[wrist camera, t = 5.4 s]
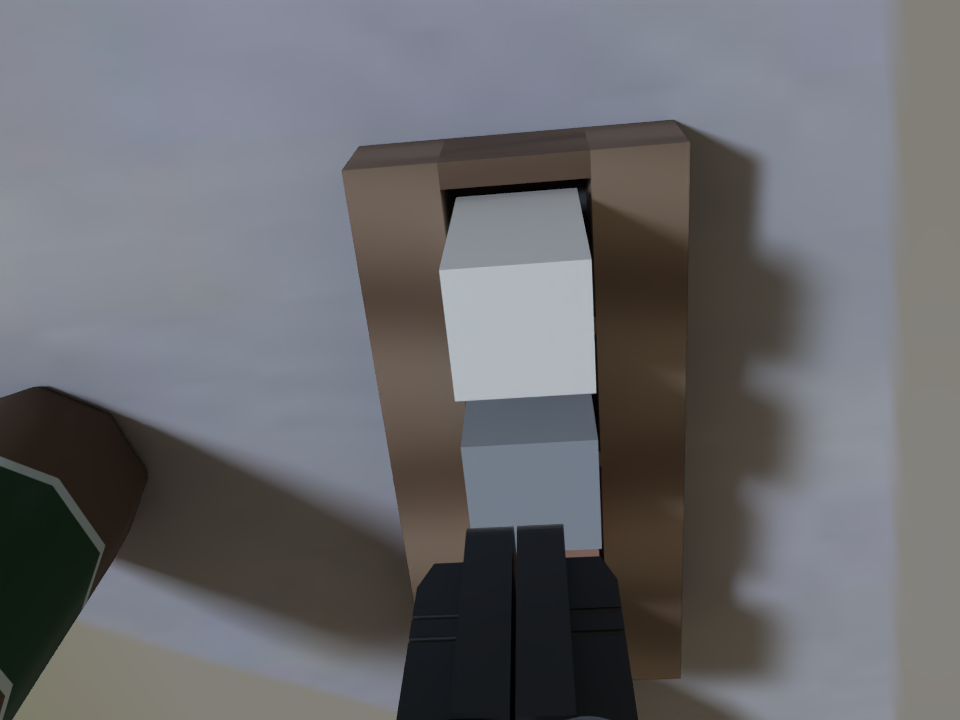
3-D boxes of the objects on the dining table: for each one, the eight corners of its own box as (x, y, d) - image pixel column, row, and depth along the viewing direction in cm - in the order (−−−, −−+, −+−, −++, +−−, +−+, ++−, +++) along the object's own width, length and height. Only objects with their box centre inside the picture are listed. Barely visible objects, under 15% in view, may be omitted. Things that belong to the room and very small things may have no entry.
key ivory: (456, 197, 26) (439, 270, 20) (576, 187, 25) (591, 259, 20) (468, 307, 27) (455, 401, 22) (581, 299, 27) (596, 393, 22)
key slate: (472, 346, 28) (460, 447, 23) (583, 339, 28) (597, 439, 22) (482, 440, 30) (473, 554, 24) (587, 434, 29) (601, 548, 24)
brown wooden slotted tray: (358, 146, 28) (341, 170, 25) (673, 119, 27) (690, 141, 24) (434, 631, 37) (428, 686, 34) (668, 622, 36) (680, 678, 34)
